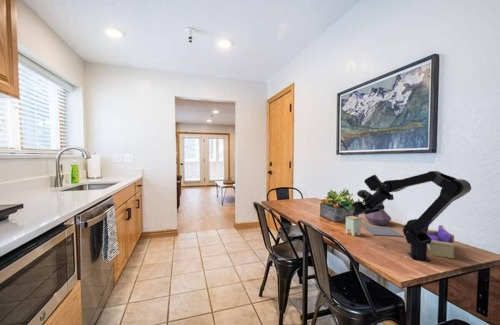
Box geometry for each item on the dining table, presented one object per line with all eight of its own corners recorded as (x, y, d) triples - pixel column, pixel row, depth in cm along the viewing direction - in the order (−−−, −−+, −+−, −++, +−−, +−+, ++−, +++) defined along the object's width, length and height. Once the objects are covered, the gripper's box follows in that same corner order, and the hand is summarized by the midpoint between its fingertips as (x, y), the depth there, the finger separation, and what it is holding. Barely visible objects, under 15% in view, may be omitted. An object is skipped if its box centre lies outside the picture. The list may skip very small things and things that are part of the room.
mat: (403, 236, 123) (403, 235, 123) (373, 235, 125) (373, 234, 125) (389, 228, 139) (389, 227, 139) (362, 226, 141) (362, 225, 141)
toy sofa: (420, 240, 118) (421, 221, 118) (442, 243, 114) (442, 224, 114) (429, 255, 100) (429, 232, 99) (455, 260, 95) (455, 236, 95)
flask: (370, 218, 161) (370, 191, 161) (396, 223, 149) (396, 193, 148) (359, 222, 151) (359, 193, 151) (386, 228, 138) (386, 196, 138)
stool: (360, 234, 127) (360, 218, 126) (353, 235, 124) (353, 219, 124) (352, 231, 131) (352, 215, 131) (345, 233, 129) (345, 216, 129)
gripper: (379, 184, 123) (361, 201, 133) (355, 186, 115) (338, 203, 125) (393, 201, 116) (373, 217, 126) (369, 204, 108) (350, 221, 118)
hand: (358, 214), depth 124 cm, fingers open, 9 cm apart
